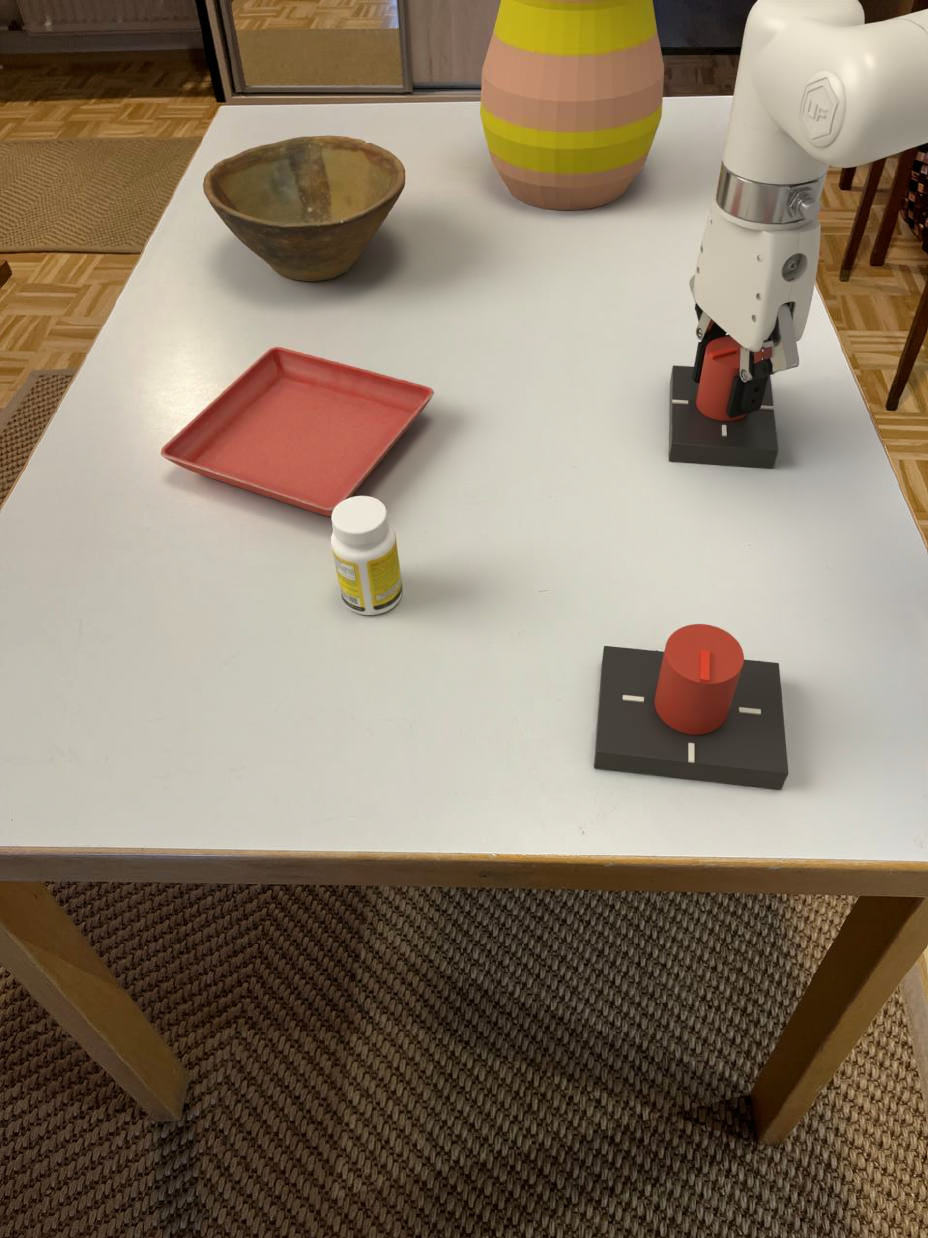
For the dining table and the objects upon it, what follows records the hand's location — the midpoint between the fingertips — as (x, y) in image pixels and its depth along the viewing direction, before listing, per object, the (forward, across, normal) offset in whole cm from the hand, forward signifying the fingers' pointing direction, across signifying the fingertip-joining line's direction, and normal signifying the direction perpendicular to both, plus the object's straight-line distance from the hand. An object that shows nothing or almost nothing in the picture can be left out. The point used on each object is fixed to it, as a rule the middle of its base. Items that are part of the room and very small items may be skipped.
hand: (725, 393), depth 82 cm
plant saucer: (+3, +12, +36) cm, 38 cm away
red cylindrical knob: (+1, 0, 0) cm, 1 cm away
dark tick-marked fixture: (+3, -28, +20) cm, 34 cm away
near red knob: (+1, -28, +20) cm, 34 cm away
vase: (+3, +51, -9) cm, 52 cm away
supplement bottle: (+3, -8, +36) cm, 37 cm away
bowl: (+3, +45, +26) cm, 52 cm away
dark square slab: (+3, 0, 0) cm, 3 cm away
